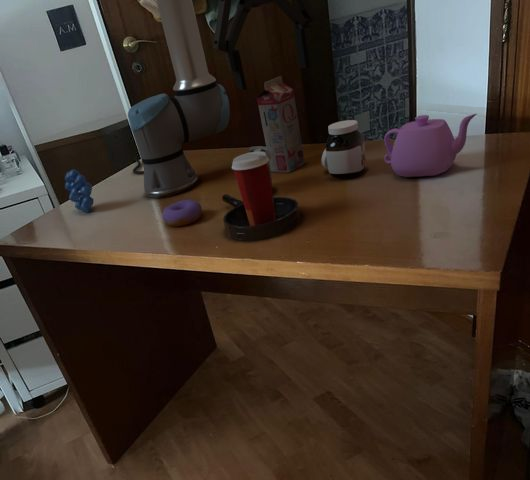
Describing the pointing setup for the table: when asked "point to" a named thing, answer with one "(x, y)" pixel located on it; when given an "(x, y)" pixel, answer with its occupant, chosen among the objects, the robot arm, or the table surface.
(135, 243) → the table surface
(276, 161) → the juice carton
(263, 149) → the food container
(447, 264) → the table surface
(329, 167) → the spread jar
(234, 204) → the pan handle
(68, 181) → the grapes
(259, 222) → the paper cup
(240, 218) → the pan
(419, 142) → the teapot
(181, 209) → the donut
